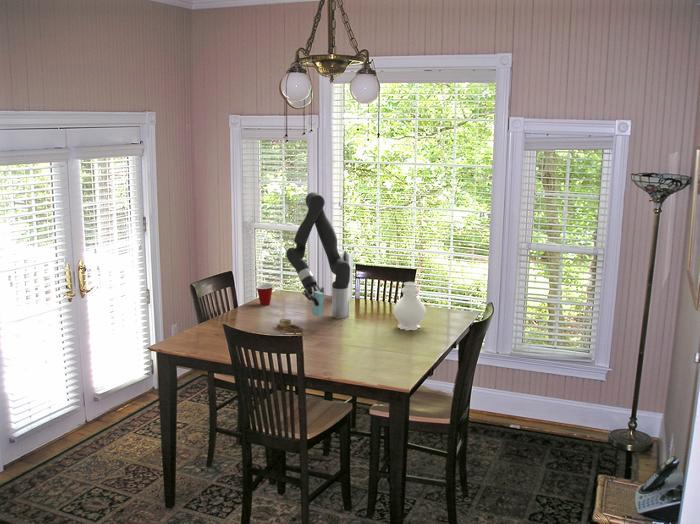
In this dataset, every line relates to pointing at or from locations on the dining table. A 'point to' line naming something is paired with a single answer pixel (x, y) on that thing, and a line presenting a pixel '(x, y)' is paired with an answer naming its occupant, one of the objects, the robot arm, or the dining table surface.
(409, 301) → the decorative vase
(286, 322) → the offcut top
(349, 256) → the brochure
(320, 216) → the robot arm
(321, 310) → the teal rectangular block
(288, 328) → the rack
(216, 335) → the dining table surface
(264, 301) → the plastic cup
